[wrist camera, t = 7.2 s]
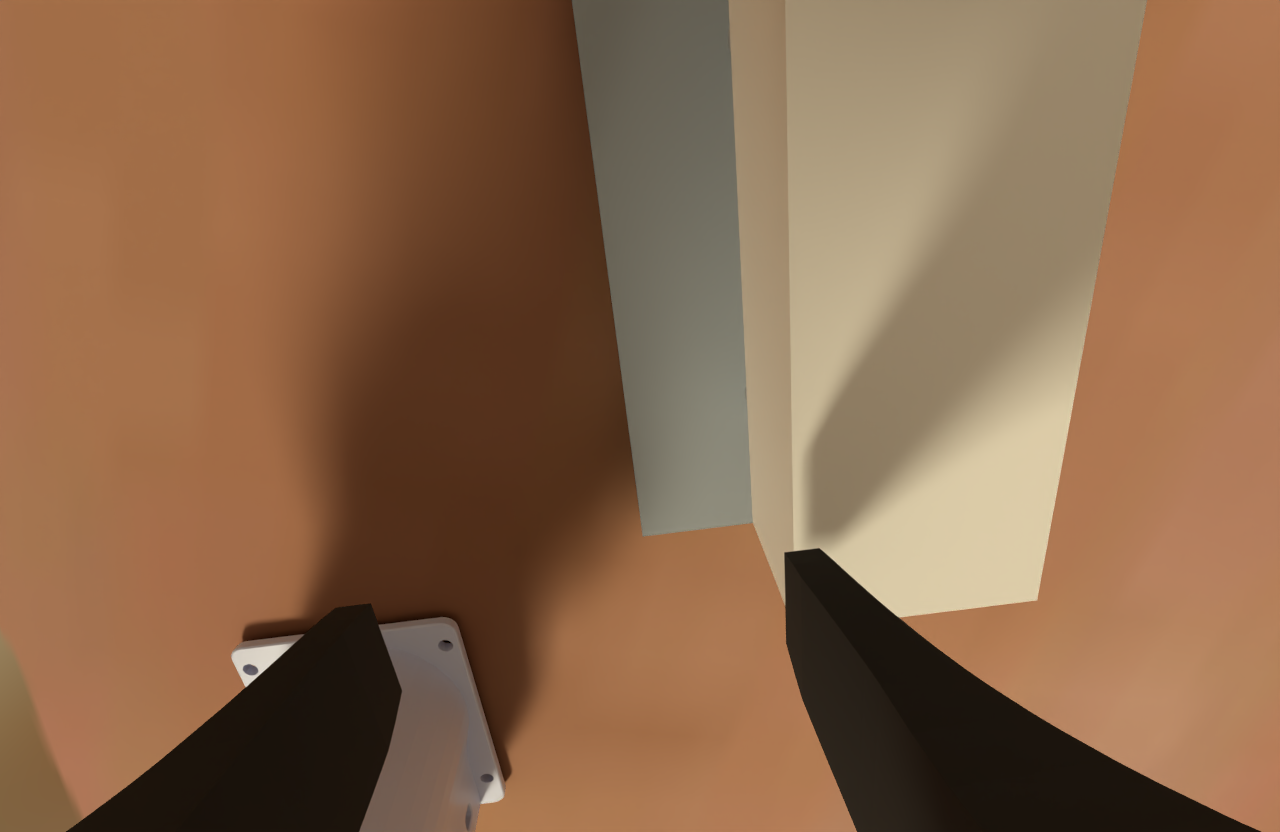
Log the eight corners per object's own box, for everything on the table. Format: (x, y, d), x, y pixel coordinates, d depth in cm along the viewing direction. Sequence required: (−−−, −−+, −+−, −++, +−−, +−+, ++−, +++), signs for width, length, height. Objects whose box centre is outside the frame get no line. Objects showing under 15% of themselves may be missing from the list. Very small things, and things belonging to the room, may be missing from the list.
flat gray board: (962, 476, 21) (1041, 549, 17) (640, 516, 21) (648, 598, 17) (1039, -225, 14) (1207, -369, 10) (551, -165, 14) (529, -286, 10)
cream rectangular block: (940, 498, 16) (1037, 600, 13) (752, 521, 16) (794, 629, 13) (1007, -193, 11) (1214, -368, 7) (721, -157, 11) (779, -314, 7)
